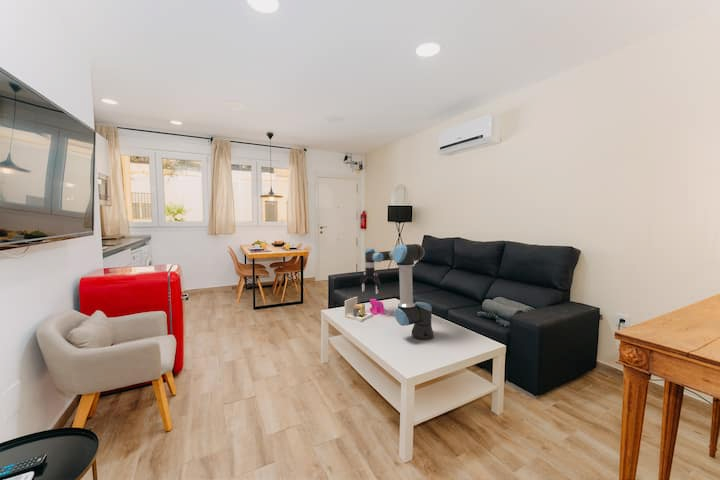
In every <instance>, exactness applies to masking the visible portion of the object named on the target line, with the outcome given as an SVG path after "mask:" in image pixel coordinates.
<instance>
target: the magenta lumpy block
mask: <svg viewBox="0 0 720 480" xmlns="http://www.w3.org/2000/svg"><path fill="white" fill-rule="evenodd" d="M369 304H370V306H371V307H369V311H370V313H371V314H373V316H376V315H378V314H380V315H385V314H386V312H385V306H384V302H383V301H377V298H370V299H369Z"/></svg>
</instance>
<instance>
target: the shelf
mask: <svg viewBox="0 0 720 480" xmlns="http://www.w3.org/2000/svg"><path fill="white" fill-rule="evenodd" d="M356 304H358V296H354V297H351V298H348V299H346V300H344V318H346V319H349V320H352V321H358V322H359V323H360V322H364V321H366V320H368V319H369V318H372V317H373V316H374V315H373V314H372V312H368V311H366V304H364V303H362V304H361V305H363V306H364V312H365V314H364V315H360V309H358V308H354V305H356ZM358 310H359V313H357V311H358ZM358 315H359V316H358ZM361 316H362V317H361Z"/></svg>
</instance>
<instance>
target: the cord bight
mask: <svg viewBox="0 0 720 480" xmlns="http://www.w3.org/2000/svg"><path fill="white" fill-rule="evenodd" d="M354 308H358V309H360V310H358V311H357V313H359V311H360V315H359V316H362V315H364V314H365V312H366V311H365V312H364V306H363V305H362V304H358V303H357V304H356V305H354Z"/></svg>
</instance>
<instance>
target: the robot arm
mask: <svg viewBox="0 0 720 480" xmlns="http://www.w3.org/2000/svg"><path fill="white" fill-rule="evenodd" d="M364 256H365V257H364V258H365V265H364V266H365V268H364V269H365V271H363V272H362V274H361V277H360V279H359V283H360V284H361V285H360V287H361V292H365V287H366V286H365V283H366V281H367V279H370V280H373V282H374V284H375V294H376V295H377V294H379V290H380V286H381V285H382V283H381V280H380V278H379V274H378V273H375V262H376V263H381V262H385V261H394V262H395V263H396V266H397V267H398V276H399V302H398V304H397V308H396V309H395V310H394V317H395V321H396V322H397V323H398V325H400V326H403V327H405V326H410V325H413V327H412V329H411V337H413V338H415V339H416V340H420V341H421V340H422V341H424V340H426V341H427V340H432V339H433V338H434V336H435V335H434V330H433V327H432V314H433V313H432V312H433V311H432V305H431V304H430V303H427V302H422V301H415V302H414V296H413V295H414V294H413V293H414V290H413V267H414V265H415V262H417V261H420V260H422V259H423V258H424V256H425V248H424V247H423V246H422V245H420V244H418V243H412V244H409V243H408V244H399V245H397V246H395V248H394V249H393V250H386V251H375V249H374V248H373V247H372V248H371V247H370V248H365V252H364Z"/></svg>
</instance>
